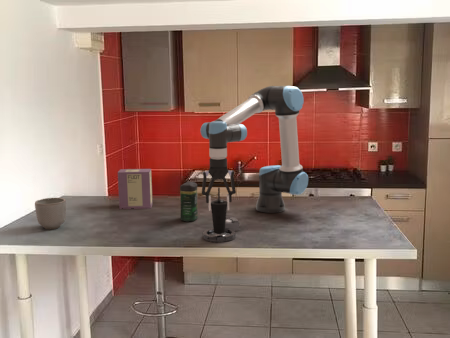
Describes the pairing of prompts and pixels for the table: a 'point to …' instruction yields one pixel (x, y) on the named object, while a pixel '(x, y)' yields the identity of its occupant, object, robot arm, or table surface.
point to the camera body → (232, 224)
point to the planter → (51, 212)
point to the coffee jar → (189, 201)
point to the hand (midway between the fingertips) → (218, 209)
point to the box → (135, 188)
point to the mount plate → (219, 235)
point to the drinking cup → (219, 214)
